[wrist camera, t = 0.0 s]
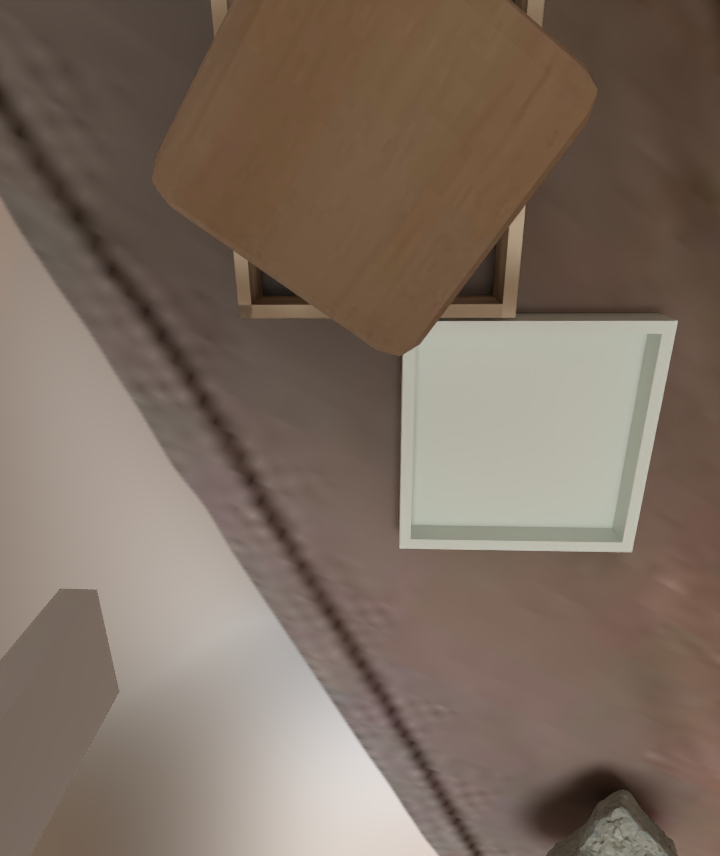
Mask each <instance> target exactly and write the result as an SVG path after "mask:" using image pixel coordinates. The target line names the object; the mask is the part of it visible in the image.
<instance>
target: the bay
mask: <svg viewBox="0 0 720 856" xmlns="http://www.w3.org/2000/svg"><path fill="white" fill-rule="evenodd" d="M232 1H233V0H211V9H212V20H213V31H214V38H215V35H216V33H217V31H218V29H219V27H220V25H221V23H222V21H223V19H224V17H225V15H226V13H227V11H228V9H229V7H230V5H231V3H232ZM515 4H516V5H517V6H518V7H519V8H520V9H522V10H523V11H524V12H525V13H526V14H527V15H528V16H530V17H531V18H532V19H533V20H534V21H535V22H536V23H538V24H539V25H540V26H541V27H542V22H543V11H544V0H515ZM525 207H526V205H525V206H524V208H523V209H522V210H521V212H520V213H519V214H518V215H517V217H516V218H515V219H514V221H513V222H512V223H511V225H510V226H509V227H508V229H507V230H506V231H505V233H504V234H503V235H502V237H501V238H500V239H499V241H498V242H497V244H496V257H495V270H494V284H493V295H457V296H456V297H455V299H454V300H453V301H452V303H451V304H450V305H449V307H448V308H447V309H446V311H445V312H444V313H443V315H442V316H441V317H440V318H515V316H516V305H517V294H518V283H519V272H520V261H521V250H522V239H523V228H524V218H525ZM233 253H234V264H235V275H236V287H237V298H238V309H239V318H329V317H328V316H326V315H325V314H324V313H322V312H321V311H319V310H318V309H316V308H315V307H314V306H312V305H311V304H309V303H308V302H306V301H305V300H304V299H302V298H301V297H299V296H263V289H262V275H261V270H260V269H259V268H258V267H256V266H255V265H253V264H252V263H250V262H249V261H248V260H246V259H245V258H243V257H242V256H240V255H239V254H238V253H236V252H235V251H233Z"/></svg>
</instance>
